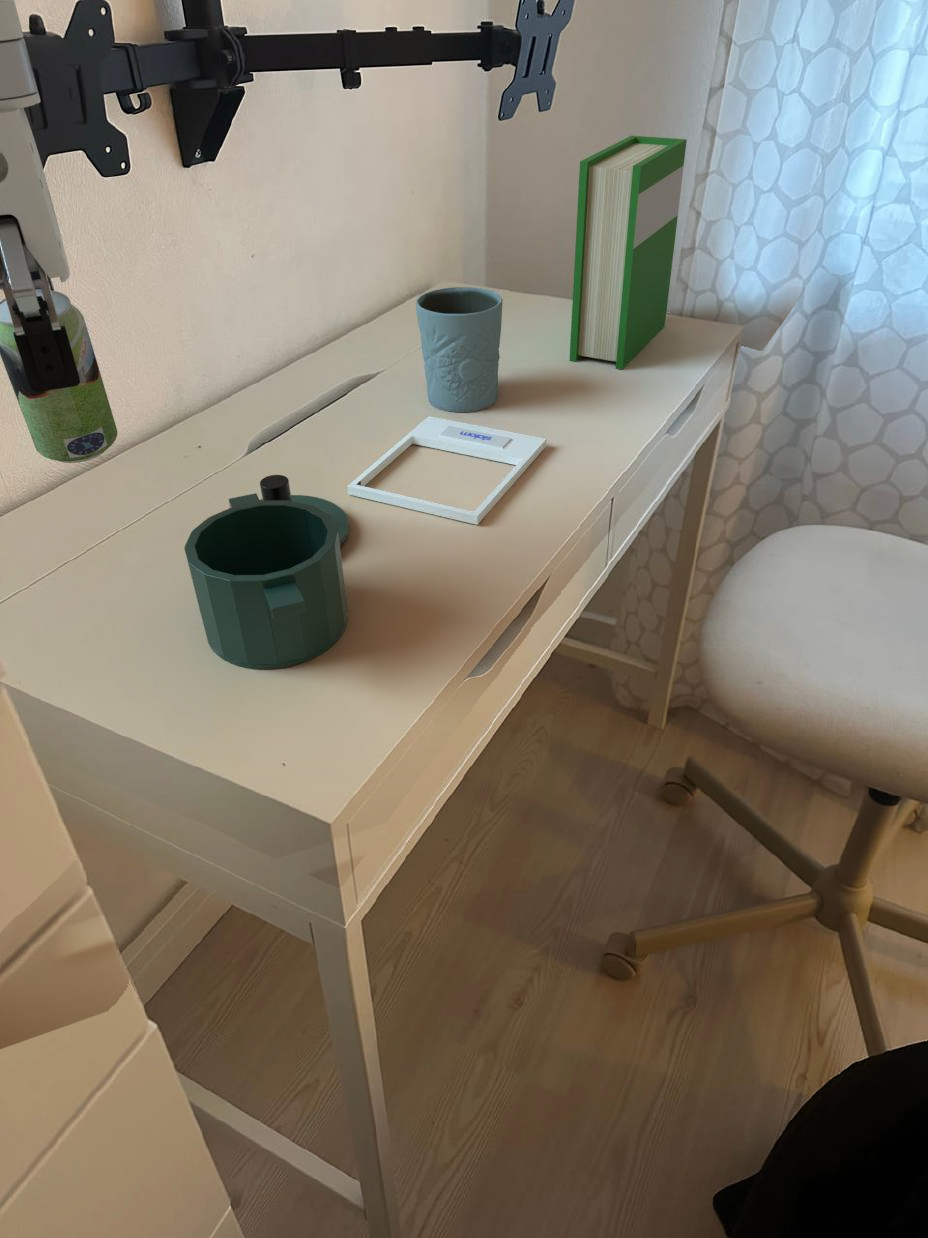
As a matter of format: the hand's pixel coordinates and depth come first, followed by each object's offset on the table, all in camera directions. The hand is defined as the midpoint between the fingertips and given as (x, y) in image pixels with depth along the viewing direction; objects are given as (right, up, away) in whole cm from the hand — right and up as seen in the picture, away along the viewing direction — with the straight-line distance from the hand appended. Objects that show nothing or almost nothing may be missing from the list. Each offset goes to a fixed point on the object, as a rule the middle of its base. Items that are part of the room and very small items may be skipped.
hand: (53, 368), depth 64 cm
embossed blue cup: (+29, +9, +46) cm, 55 cm away
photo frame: (+28, -2, +31) cm, 42 cm away
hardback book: (+51, +20, +60) cm, 81 cm away
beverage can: (0, -5, +5) cm, 7 cm away
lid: (+12, -10, +21) cm, 26 cm away
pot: (+14, -18, +11) cm, 25 cm away
